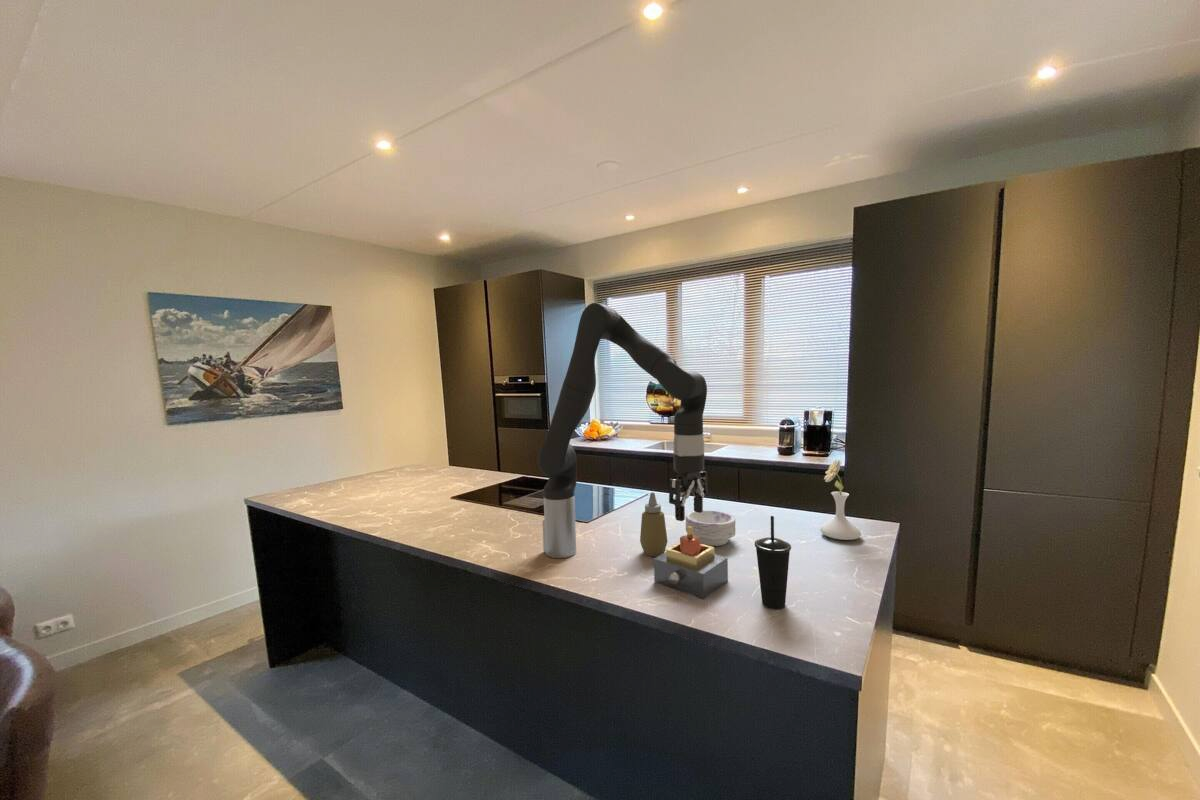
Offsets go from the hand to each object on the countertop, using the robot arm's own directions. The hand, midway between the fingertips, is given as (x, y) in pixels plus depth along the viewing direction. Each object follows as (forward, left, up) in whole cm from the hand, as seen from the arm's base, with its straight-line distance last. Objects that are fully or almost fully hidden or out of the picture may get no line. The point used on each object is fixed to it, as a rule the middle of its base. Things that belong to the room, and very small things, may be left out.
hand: (689, 516), depth 111 cm
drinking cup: (+20, +2, -17) cm, 26 cm away
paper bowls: (-10, +28, -17) cm, 34 cm away
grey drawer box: (0, 0, -17) cm, 17 cm away
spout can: (0, 0, -16) cm, 16 cm away
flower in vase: (+20, +55, -17) cm, 61 cm away
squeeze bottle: (-18, +9, -17) cm, 26 cm away
